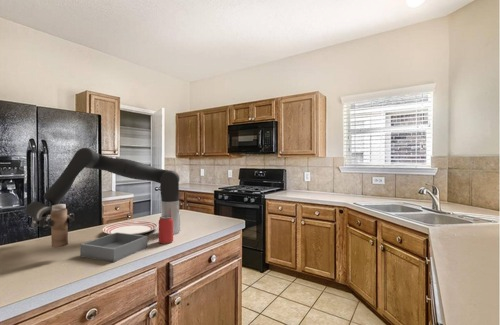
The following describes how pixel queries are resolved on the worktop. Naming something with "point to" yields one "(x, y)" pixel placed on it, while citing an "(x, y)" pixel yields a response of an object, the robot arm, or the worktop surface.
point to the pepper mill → (59, 226)
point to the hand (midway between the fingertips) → (61, 222)
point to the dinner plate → (130, 227)
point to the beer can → (165, 229)
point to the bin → (113, 246)
